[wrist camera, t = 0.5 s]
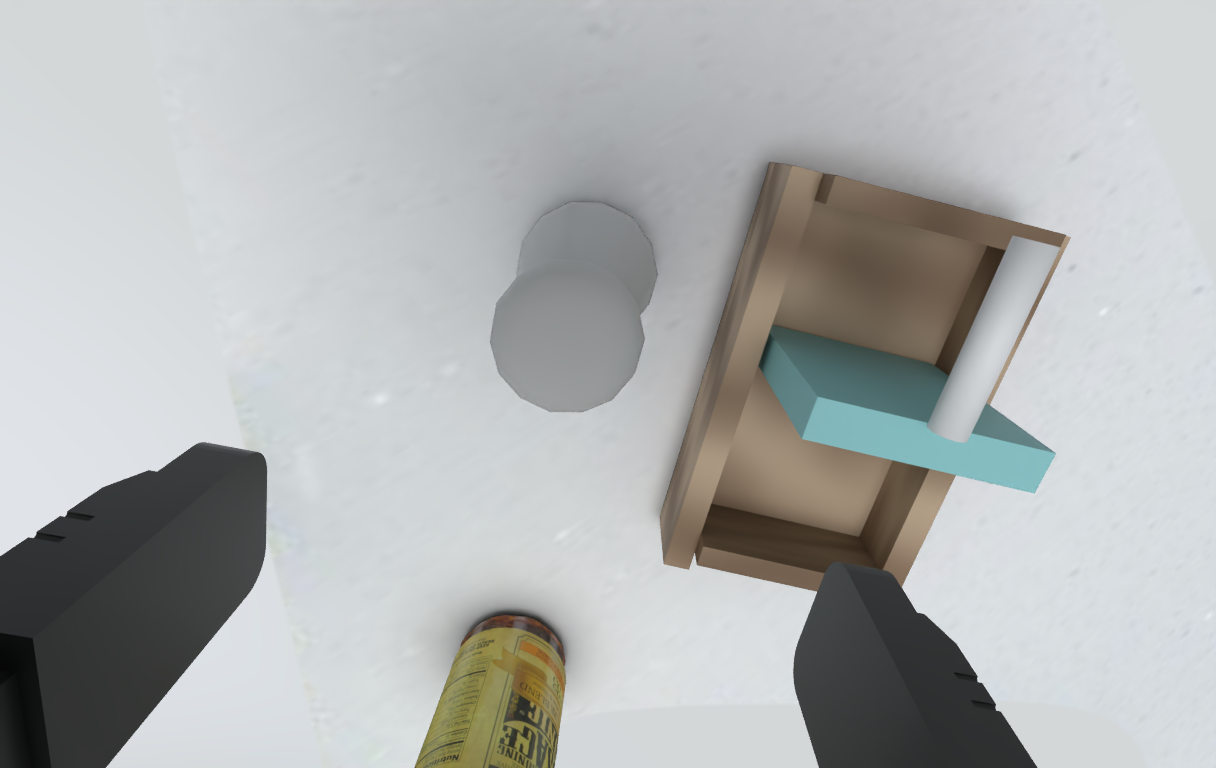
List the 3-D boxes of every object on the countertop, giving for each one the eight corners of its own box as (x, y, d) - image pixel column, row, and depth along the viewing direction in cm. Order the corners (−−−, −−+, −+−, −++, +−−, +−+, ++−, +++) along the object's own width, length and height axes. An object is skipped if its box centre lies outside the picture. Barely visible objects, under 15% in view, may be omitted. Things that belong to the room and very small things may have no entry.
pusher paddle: (807, 184, 27) (908, 208, 17) (990, 231, 27) (1186, 280, 18) (751, 353, 29) (811, 455, 20) (919, 394, 30) (1056, 513, 20)
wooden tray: (769, 162, 28) (802, 166, 23) (1012, 224, 28) (1097, 243, 23) (659, 517, 34) (665, 584, 29) (860, 562, 35) (901, 635, 29)
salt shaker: (622, 173, 28) (620, 199, 16) (674, 293, 30) (708, 398, 18) (502, 231, 29) (414, 298, 17) (559, 344, 31) (517, 477, 19)
